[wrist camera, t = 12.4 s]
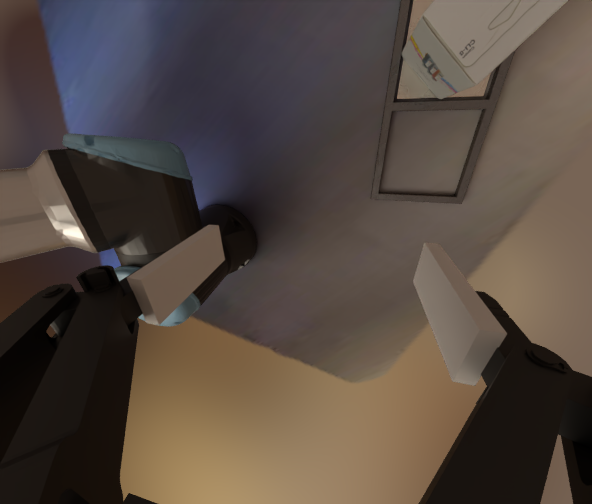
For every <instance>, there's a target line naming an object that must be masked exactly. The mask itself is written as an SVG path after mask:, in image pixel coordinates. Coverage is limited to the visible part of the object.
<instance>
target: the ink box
mask: <svg viewBox="0 0 592 504" xmlns="http://www.w3.org/2000/svg"><path fill="white" fill-rule="evenodd" d="M567 1H568V0H433V2H432V3H431V4H430V5H429V7H428V8H427V9H426V10H425V12H424V13H423V14H422V16H421V18H420V20H419V22H418V24H417V26H416V27H415V29H414V31H413V33H412V35H411V37H410V38H409V40H408V42H407V44H406V45H405V47H404V49H403V51H402V53H401V56H402V57H403V58H404V60H405V61H406V62H407V64H408V65H409V66H410V67H411V68H412V70H413V71H414V72H415V73H416V74H417V75H418V76H419V78H420V79H421V80H422V81H423V82H424V83H425V85H426V86H427V87H428V88H429V89H430V90H431V91H432V92H433V94H434V95H435V96H436V97H437V98H438V99H440V100H441V99H443V98H446V97H448V96H451V95H453V94H455V93H458V92H460V91H463V90H466V89H468V88H471V87H473V86H476V85H478V84H479V83H480V82H481V81H482V80H483V79H484V78H485V77H486V76H488V75H489V74H490V73H491V72H492V71H493V70H494V69H495V68H496V67H497V66H498V65H499V64H501V63H502V62H503V61H504V60H505V59H506V58H507V57H508V56H509V55H510V54H511V53H512V52H514V51H515V50H516V49H517V48H518V47H519V46H520V45H521V44H522V43H523V42H524V41H525V40H526V39H528V38H529V37H530V36H531V35H532V34H533V33H534V32H535V31H536V30H537V29H538V28H539V27H540V26H542V25H543V24H544V23H545V22H546V21H547V20H548V19H549V18H550V17H551V16H552V15H553V14H555V13H556V12H557V11H558V10H559V9H560V8H561V7H562V6H563V5H564V4H565V3H566V2H567Z"/></svg>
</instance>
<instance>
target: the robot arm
mask: <svg viewBox="0 0 592 504" xmlns="http://www.w3.org/2000/svg"><path fill="white" fill-rule="evenodd" d="M62 143H63V145H64V146H65V147H67V148H68V149H60V150H59V149H58V150H43V151H42V153H41V154H40V155H39V157H38V158H37V160H36V161H35V162H34V163H33V164H32V165H31V166H29V167H28V168H19V169H6V170H0V263H1V262H6V261H10V260H14V259H18V258H22V257H26V256H30V255H34V254H38V253H43V252H47V251H51V250H55V249H59V248H63V247H67V246H73V247H78V248H81V249H84V250H87V251H90V252H93V253H97V252H101V251H105V250H109V249H112V248H114V250H115V252H116V254H117V256H118V259H119V261H120V263H121V266H119V267H117V268H115V269H114V268H113V267H112V266H98V267H94V268H91V269H88V270H86V271H84V272H82V273H80V274H79V275H78V276H77V279H78V281H79V283H80V285H81V286H82V288H83V290H84V292H75V290H74V289H73V287H72V285H71V284H60V285H53V286H52V287H51V286H50V287H47V288H46V289H44V290H42V291H40V292H39V293H37V294H36V295H34V296H33V297H32V298H30V299H29V300H28V301H27V302H26V303H24V304H23V305H22V306H21V307H20V308H18V309H17V310H16V311H15V312H13V313H12V314H11V315H10V316H8V317H7V318H6V319H5V320H4V321H3V322H1V323H0V504H157V503H154V502H151V501H149V500H146V499H143V498H141V497H138V496H136V495H133V494H130V493H129V494H128V495H127V497H126V499H125V500H124V502H123V494H122V489H121V485H120V468H121V461H122V453H123V445H124V437H125V428H126V422H127V414H128V406H129V398H130V390H131V383H132V375H133V367H134V359H135V351H136V343H137V336H138V328H139V323H138V320H137V318H140V319H142V320H144V321H146V323H150V324H155V325H159V326H175V325H178V324H181V323H183V322H184V321H185V320H187V319H188V318H189V317H190V316H191V315H192V314H193V313H194V312H195V311H197V310H198V309H199V308H200V306H201V305H202V304H203V303H204V301H205V300H206V299H207V298H208V297H209V295H210V294H211V293H212V292H213V291H214V290H215V288H216V287H217V286H218V285H219V284H220V282H221V281H222V280H223V279H224V278H225V276H226V275H228V274H230V273H232V272H234V271H236V270H239V269H241V268H243V267H244V266H245V265H247V264H248V262H249V261H250V260H251V259H252V257H253V256H254V254H255V251H256V246H257V240H256V235H255V232H254V230H253V228H252V226H251V224H250V223H249V221H248V220H247V219H246V218H245V217H244V216H243V215H242V214H241V213H239V212H238V211H236V210H235V209H233V208H231V207H228V206H224V205H211V206H208V207H206V208H204V209H202V210H200V211H199V209H198V205H197V201H196V197H195V193H194V189H193V184H192V180H193V179H192V177H191V176H190V173H189V169H188V166H187V163H186V160H185V156H184V154H183V152H182V150H181V149H180V148H179V147H178V146H176V145H175V144H172V143H170V142H164V141H156V140H146V139H136V138H124V137H112V136H95V135H82V134H65V135H64V136H63V142H62ZM413 283H414V285H415V288H416V290H417V293H418V295H419V298H420V300H421V303H422V305H423V308H424V310H425V313H426V316H427V318H428V321H429V323H430V326H431V328H432V331H433V333H434V336H435V338H436V341H437V343H438V346H439V348H440V351H441V353H442V356H443V358H444V361H445V364H446V366H447V369H448V371H449V374H450V376H451V379H452V381H454V382H459V383H464V384H469V385H474V386H475V385H476V383H477V382H478V380H479V379H480V377H481V375H482V377H483V379H484V381H485V383H486V385H487V387H486V389H485V390H484V392H483V393H482V395H481V396H480V398H479V399H478V401H477V402H476V406H475V407H474V409H473V411H472V413H471V414H470V416H469V418H468V420H467V421H466V423H465V425H464V427H463V428H462V430H461V432H460V433H459V435H458V437H457V438H456V440H455V442H454V444H453V445H452V447H451V449H450V451H449V452H448V454H447V456H446V457H445V459H444V461H443V463H442V465H441V466H440V468H439V470H438V471H437V473H436V475H435V477H434V478H433V480H432V482H431V483H430V485H429V487H428V489H427V490H426V492H425V494H424V495H423V497H422V499H421V501H420V502H419V504H540V502H541V498H542V494H543V490H544V486H545V482H546V479H547V475H548V471H549V467H550V463H551V459H552V455H553V451H554V447H555V443H556V439H557V436H558V434H559V435H561V439H562V444H563V450H564V455H565V460H566V466H567V471H568V477H569V482H570V488H571V493H572V499H573V504H592V377H590V376H588V375H585V374H582V373H579V372H576V371H573V370H572V369H571V367H570V366H569V365H568V364H567V362H566V361H564V360H563V359H562V358H561V357H560V356H558V355H557V354H555V353H554V352H552V351H550V350H548V349H547V348H545V347H542V346H539V345H537V344H534V343H531V341H530V340H529V339H528V338H527V337H526V336H525V334H524V333H523V332H522V331H521V330H520V329H519V327H518V326H517V325H516V324H515V322H514V321H513V320H512V319H511V318H509V315H508V314H507V313H506V312H505V311H504V310H503V308H502V307H501V306H500V305H499V303H498V302H497V301H496V300H495V299H493V298H492V297H490V296H489V295H488V294H486V293H485V292H478V291H475V290H474V289H473V288H472V287H471V286H470V284H469V283H468V281H467V280H466V279H465V277H464V276H463V275H462V273H461V272H460V271H459V269H458V268H457V267H456V265H455V264H454V263H453V261H452V260H451V259H450V257H449V256H448V255H447V254H446V252H445V251H444V250H443V248H442V247H441V246H440V244H436V243H424V246H423V249H422V253H421V256H420V260H419V263H418V266H417V270H416V273H415V277H414V280H413ZM49 325H51V327H52V328H53V330H54V331H55V332H56V334H55V335H54V336H53V337H52V338H51V337H49V335H48V334H47V333H46V330H47V329H48V327H49Z"/></svg>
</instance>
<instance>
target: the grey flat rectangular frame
mask: <svg viewBox="0 0 592 504" xmlns="http://www.w3.org/2000/svg"><path fill="white" fill-rule="evenodd" d="M432 2H433V0H413V5H412V11H411V17H410V23H409V29H408V35H407V41H406V44H407V42H408V40H409V38H410V37H411V35H412V33H413V31H414V29H415V27H416V26H417V24H418V22H419V20H420V18H421V16H422V14H423V13H424V12H425V10H426V9H427V8H428V7H429V5H430V4H431V3H432ZM409 4H410V0H401V1H400V8H399V15H398V21H397V28H396V34H395V41H394V48H393V54H392V61H391V67H390V74H389V81H388V87H387V94H386V100H385V107H384V114H383V120H382V127H381V133H380V140H379V147H378V153H377V160H376V166H375V173H374V180H373V186H372V193H371V199H375V200H395V201H415V202H435V203H455V204H462V201H463V198H464V196H465V193H466V190H467V187H468V184H469V181H470V178H471V175H472V173H473V170H474V167H475V164H476V161H477V158H478V155H479V152H480V150H481V147H482V144H483V141H484V138H485V135H486V132H487V130H488V127H489V124H490V121H491V118H492V115H493V112H494V109H495V107H496V104H497V101H498V98H499V95H500V92H501V89H502V86H503V84H504V81H505V78H506V75H507V72H508V69H509V66H510V64H511V61H512V58H513V55H514V52H515V51H514V52H512V53H511V54H510V55H509V56H508V57H507V58H506V59H505V60H504V61H503V62H502V63H501V64H499V65H498V66H497V67H496V70H495V73H494V76H493V79H492V82H491V85H490V88H489V91H488V94H487V97H486V100H460V101H428V102H396V103H393V101H394V95H395V89H396V83H397V77H398V71H399V65H400V59H401V53H402V47H403V41H404V35H405V29H406V23H407V16H408V10H409ZM490 74H491V73H490ZM490 74H489V75H488V76H486V77H485V78H484V79H483V80H482V81H481V82H480V83H479V84H478V85H476V86H473V87H471V88H468V89H466V90H463V91H460V92H458V93H455V94H453V95H451V96H448V97H474V96H484V93H485V90H486V87H487V83H488V80H489V77H490ZM414 98H437V97H436V96H435V95H434V94H433V92H432V91H431V90H430V89H429V88H428V87H427V86H426V85H425V83H424V82H423V81H422V80H421V79H420V78H419V76H418V75H417V74H416V73H415V72H414V71H413V70H412V68H411V67H410V66H409V65H408V64H407V62H406V61H405V60H404V58H403V64H402V70H401V76H400V82H399V87H398V93H397V99H414ZM468 109H483V110H482V113H481V116H480V119H479V122H478V125H477V128H476V131H475V134H474V137H473V140H472V143H471V146H470V149H469V152H468V156H467V159H466V162H465V165H464V168H463V171H462V174H461V177H460V180H459V183H458V186H457V189H456V192H455V195H454V196H448V195H425V194H402V193H380V192H378V191H379V185H380V179H381V173H382V167H383V161H384V155H385V149H386V143H387V137H388V131H389V125H390V119H391V113H392V111H426V110H468Z"/></svg>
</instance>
